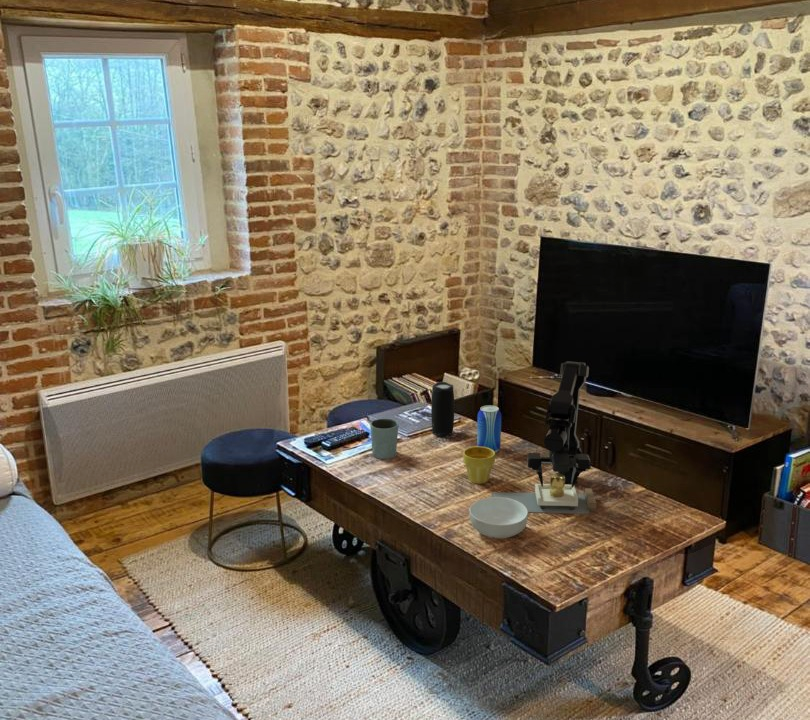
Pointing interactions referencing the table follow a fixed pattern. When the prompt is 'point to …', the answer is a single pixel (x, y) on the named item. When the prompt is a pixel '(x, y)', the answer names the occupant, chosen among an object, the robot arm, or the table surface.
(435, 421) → the portable speaker
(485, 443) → the beer can
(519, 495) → the mat
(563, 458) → the robot arm
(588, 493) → the end stop
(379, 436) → the green cup
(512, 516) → the cereal bowl
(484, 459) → the plant pot
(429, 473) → the table surface
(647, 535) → the table surface
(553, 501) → the shallow square tray
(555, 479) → the solid brass cylinder
